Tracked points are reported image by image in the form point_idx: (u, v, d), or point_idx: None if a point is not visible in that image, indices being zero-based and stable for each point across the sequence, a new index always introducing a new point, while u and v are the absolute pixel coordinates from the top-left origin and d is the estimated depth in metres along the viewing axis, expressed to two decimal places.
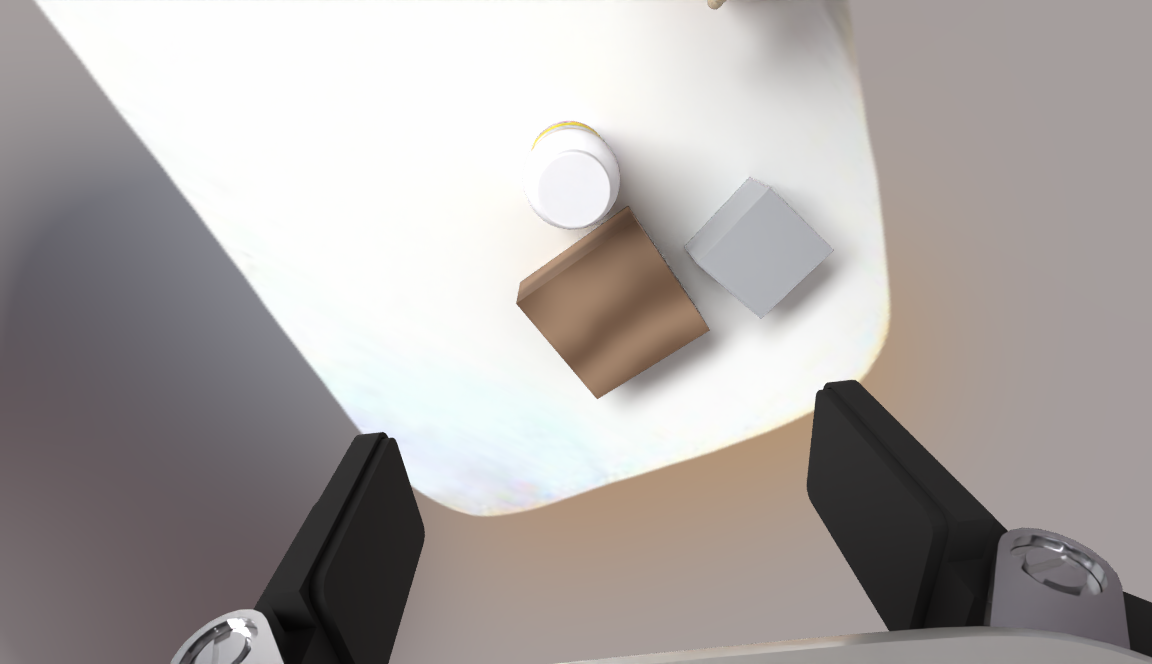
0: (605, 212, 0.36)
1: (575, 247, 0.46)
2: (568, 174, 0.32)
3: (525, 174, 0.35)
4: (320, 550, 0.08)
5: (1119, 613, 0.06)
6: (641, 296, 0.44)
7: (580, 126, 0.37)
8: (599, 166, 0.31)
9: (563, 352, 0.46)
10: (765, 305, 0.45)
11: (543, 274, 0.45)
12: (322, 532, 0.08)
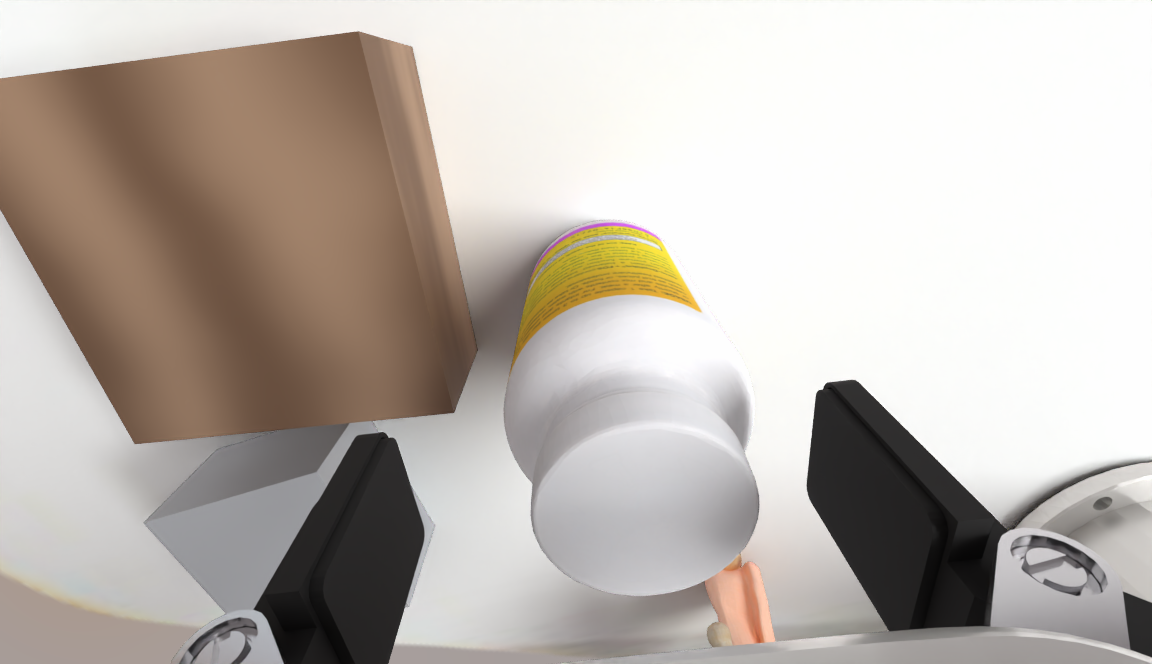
0: (520, 464, 0.14)
1: (443, 231, 0.20)
2: (697, 527, 0.11)
3: (718, 342, 0.12)
4: (320, 549, 0.08)
5: (1119, 613, 0.06)
6: (266, 352, 0.18)
7: None
8: (663, 591, 0.11)
9: (142, 77, 0.14)
10: (174, 538, 0.21)
11: (412, 136, 0.17)
12: (322, 532, 0.08)
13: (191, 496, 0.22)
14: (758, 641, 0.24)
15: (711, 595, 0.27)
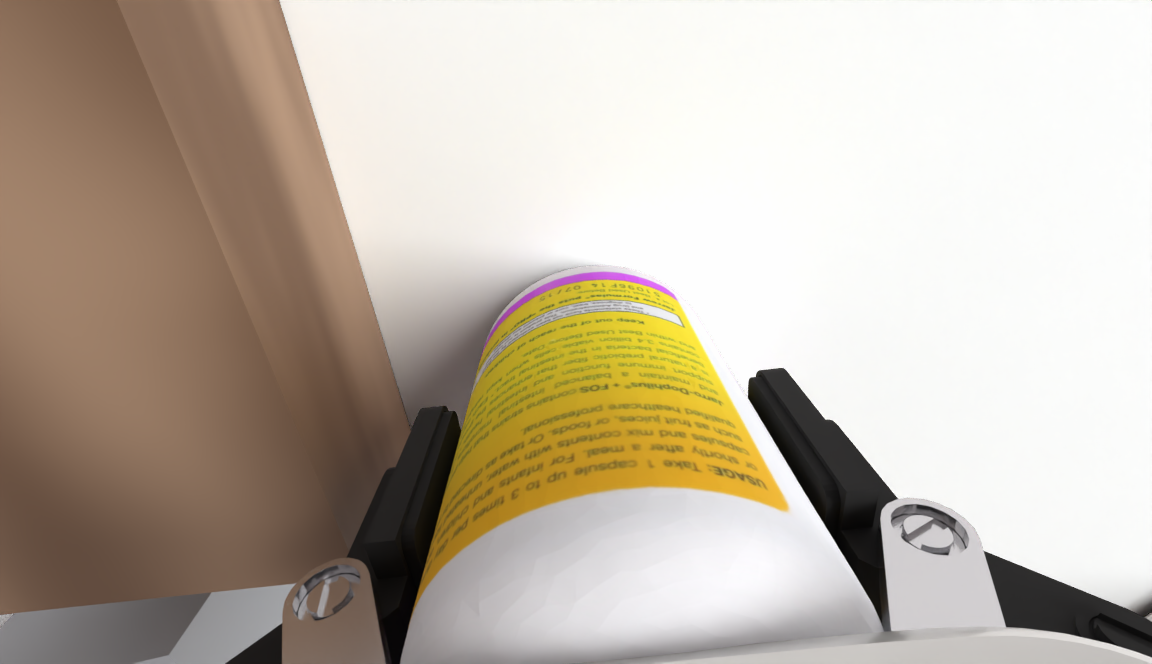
0: None
1: (345, 287, 0.13)
2: None
3: (840, 602, 0.06)
4: (407, 506, 0.09)
5: (981, 563, 0.07)
6: (38, 501, 0.11)
7: None
8: None
9: None
10: None
11: (269, 145, 0.10)
12: (406, 491, 0.09)
13: None
14: None
15: None
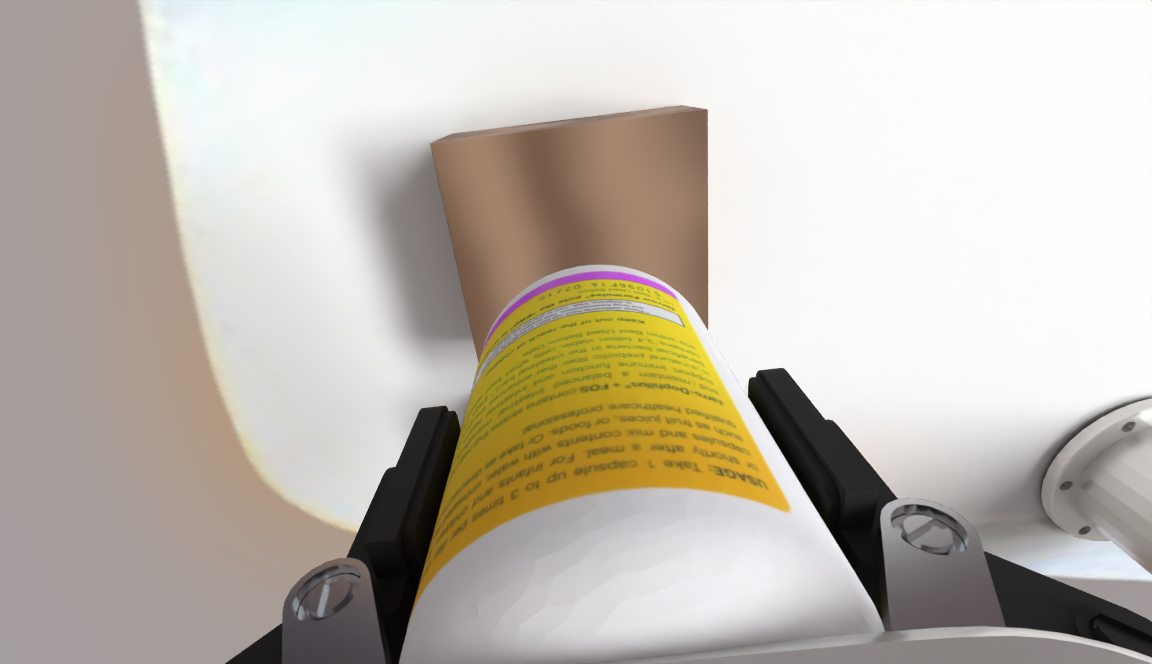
0: None
1: None
2: None
3: (842, 603, 0.06)
4: (407, 506, 0.09)
5: (981, 563, 0.07)
6: None
7: None
8: None
9: (565, 137, 0.22)
10: None
11: None
12: (406, 491, 0.09)
13: None
14: None
15: None
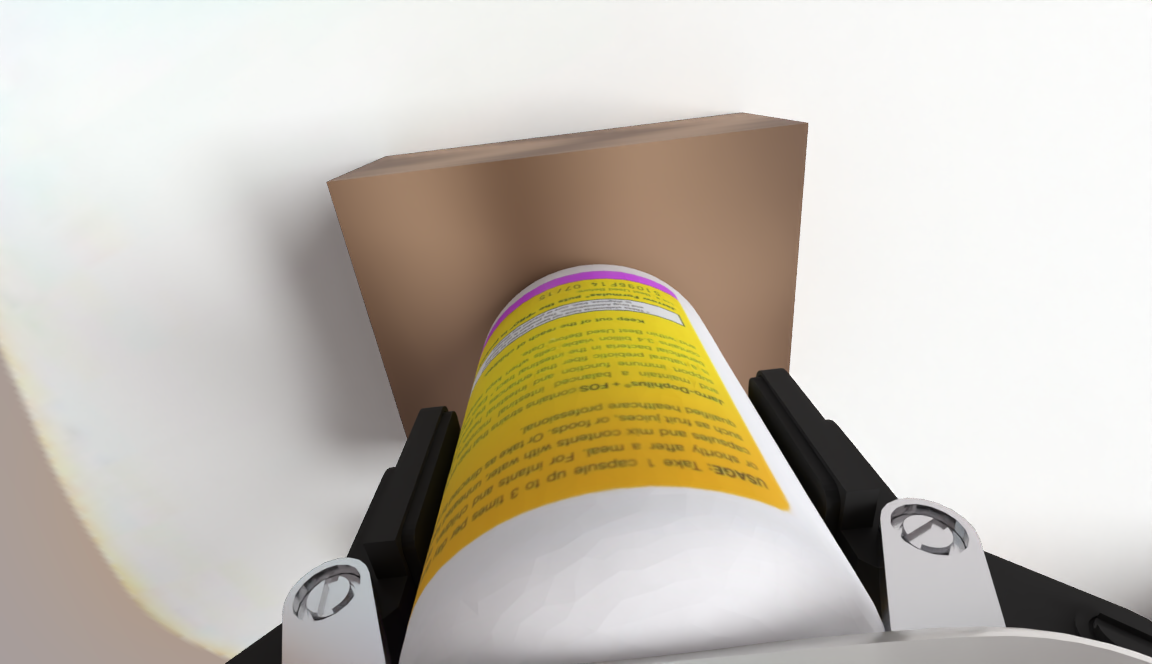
0: None
1: None
2: None
3: (841, 602, 0.06)
4: (407, 506, 0.09)
5: (981, 563, 0.07)
6: None
7: None
8: None
9: (561, 170, 0.13)
10: None
11: None
12: (406, 491, 0.09)
13: None
14: None
15: None
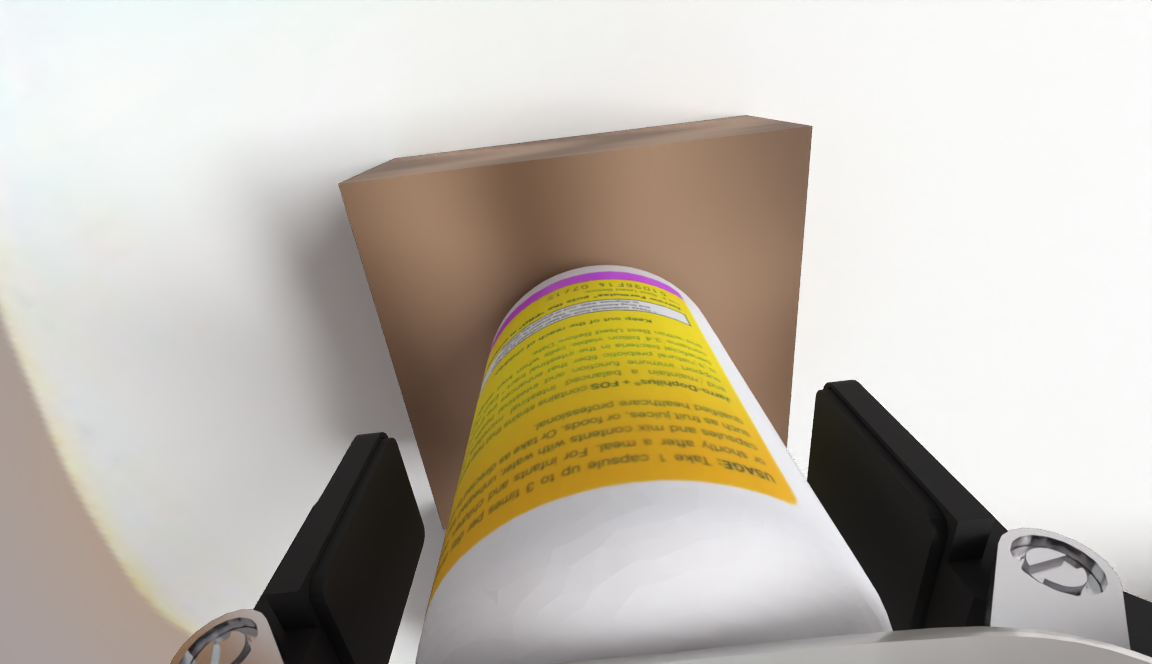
0: None
1: None
2: None
3: (847, 591, 0.06)
4: (319, 550, 0.08)
5: (1119, 613, 0.06)
6: None
7: None
8: None
9: (568, 172, 0.13)
10: None
11: None
12: (322, 532, 0.08)
13: None
14: None
15: None
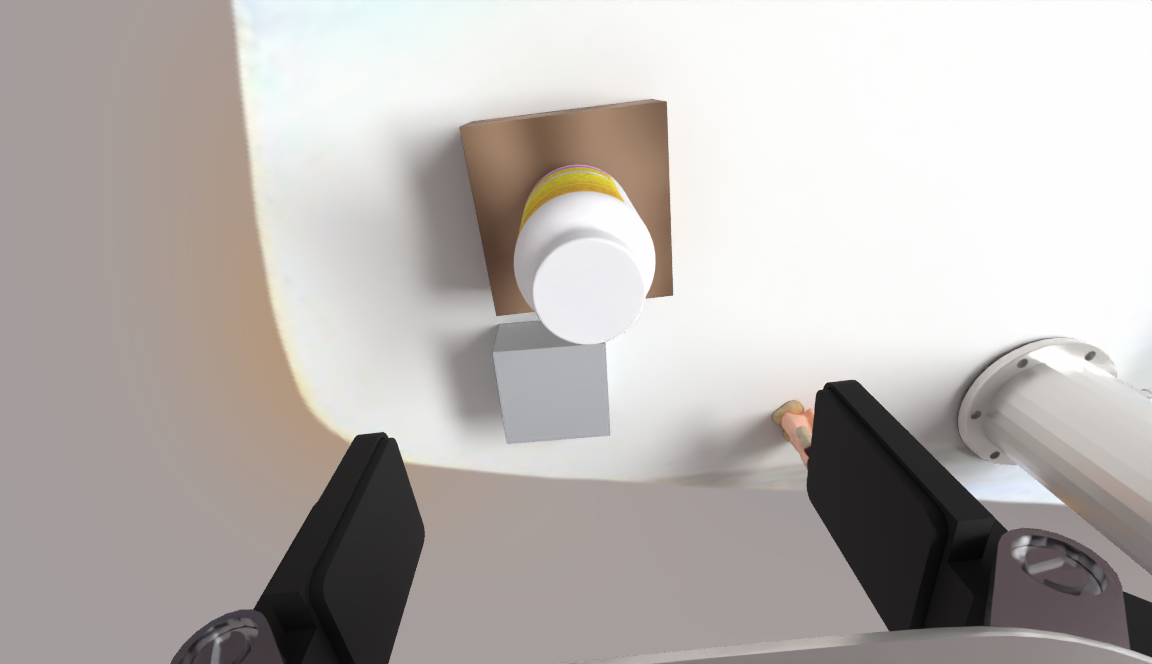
0: (523, 291, 0.24)
1: None
2: (615, 299, 0.21)
3: (631, 215, 0.23)
4: (320, 550, 0.08)
5: (1119, 613, 0.06)
6: None
7: None
8: (601, 340, 0.22)
9: (560, 122, 0.30)
10: (503, 365, 0.37)
11: None
12: (322, 532, 0.08)
13: (515, 344, 0.37)
14: None
15: (788, 426, 0.43)
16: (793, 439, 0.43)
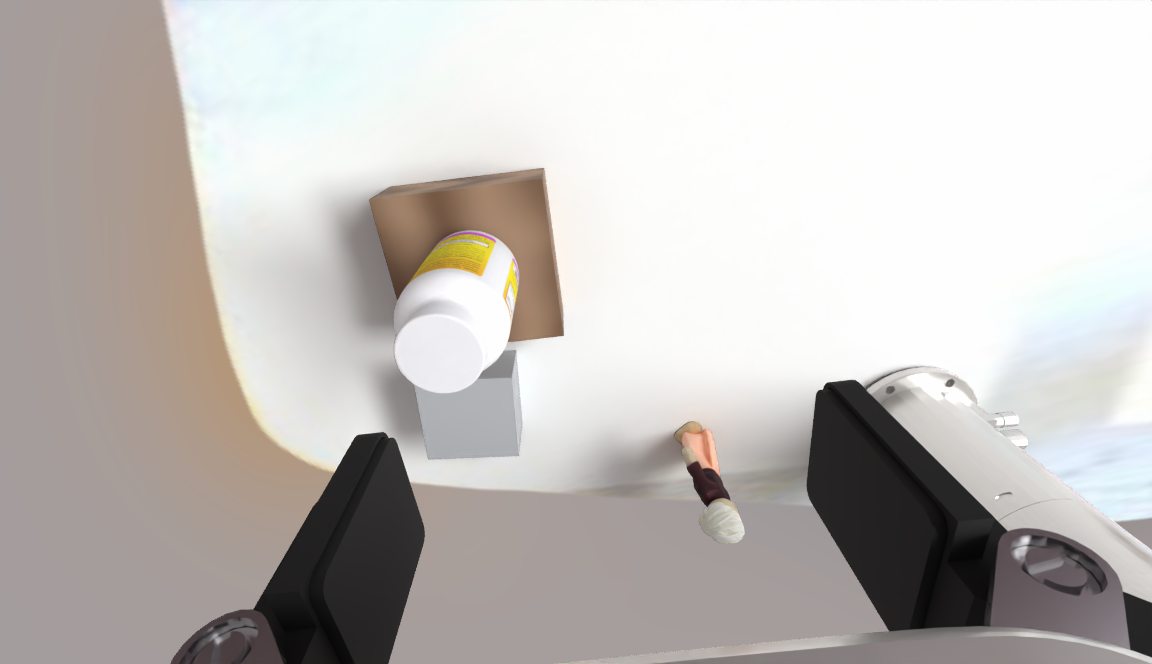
0: None
1: (554, 251, 0.41)
2: (460, 359, 0.27)
3: (482, 288, 0.28)
4: (320, 550, 0.08)
5: (1119, 612, 0.06)
6: None
7: None
8: (453, 390, 0.27)
9: (454, 195, 0.36)
10: (423, 392, 0.43)
11: (548, 211, 0.39)
12: (322, 532, 0.08)
13: None
14: (708, 461, 0.47)
15: (685, 445, 0.49)
16: None
